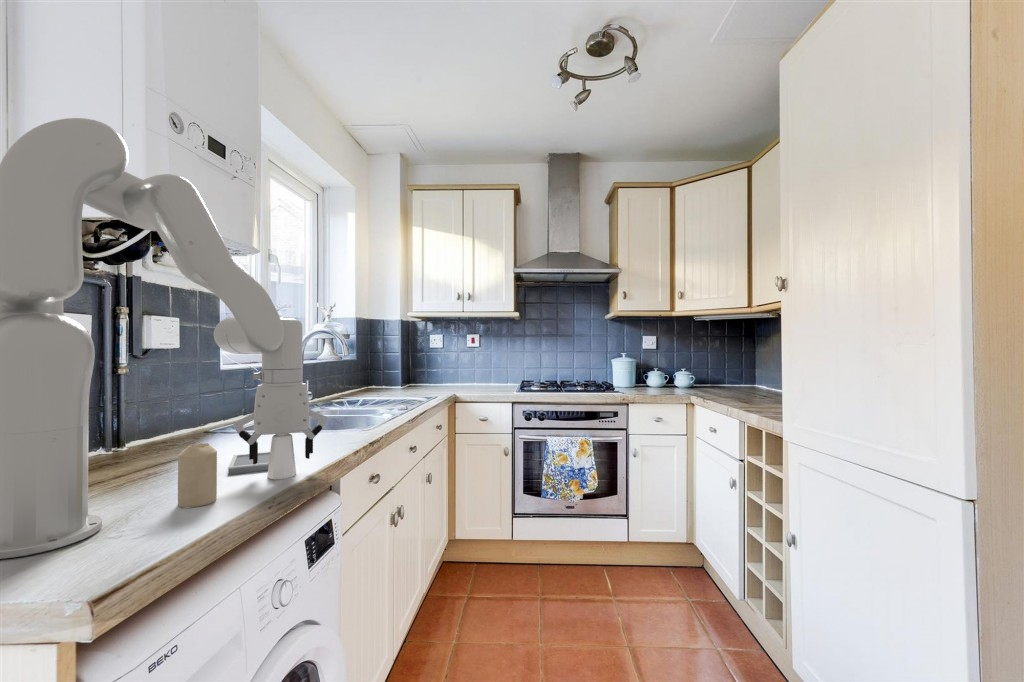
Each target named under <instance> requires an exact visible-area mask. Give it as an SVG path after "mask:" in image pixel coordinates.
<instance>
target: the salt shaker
mask: <svg viewBox="0 0 1024 682" xmlns="http://www.w3.org/2000/svg"><path fill="white" fill-rule="evenodd" d="M269 452H270V458H269V467H268V470H267V475H266V477H267V479H270V480H273V481H274V480H286V479H290V478H294V476H295V475H296V474H297V469H296V460H295V450H294V441H293V434H292V433H284V434H273V436H272V438H271V442H270V449H269Z"/></svg>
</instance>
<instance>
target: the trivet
mask: <svg viewBox="0 0 1024 682" xmlns="http://www.w3.org/2000/svg"><path fill="white" fill-rule="evenodd" d="M269 458H270V451H264V452H263V451H262V452H261V451H260V452H258V462H257V463H256V464H253V459H251V460H249V453H243V454H241V453H240V454H234V455H233V456H232V457H231V460H230V463H229V465H228V467H227V468H228V469H227V474H228V475H229V476H230V475H238V474H239V475H240V474H247V473H255V472H256V473H257V472H265V471H267V472H268V467H269Z"/></svg>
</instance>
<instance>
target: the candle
mask: <svg viewBox="0 0 1024 682" xmlns="http://www.w3.org/2000/svg"><path fill="white" fill-rule="evenodd" d="M217 462H218V451H217V449H216V448H214V447H213V446H212V445H210V443H208V442H207V443H206V442H205V443H198V444H189V445H188V446H187V447H186V448H184V449H183V450H182V451H181V452H179V454H178V456H177V506H178V507H179V508H182V507H190V509H191V507H192V508H197V507H203V506H206V505H210V504H212V503H215V502H216V500H217V496H218V495H217V494H218V489H217V485H218V484H217V483H218V480H217V478H218V477H217V476H218V474H217V473H218V463H217Z"/></svg>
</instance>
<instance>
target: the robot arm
mask: <svg viewBox="0 0 1024 682" xmlns="http://www.w3.org/2000/svg"><path fill="white" fill-rule="evenodd" d="M129 156H130V155H129V150H128V146H127V143H126V142H125V140H124V138H123V137H122V135H120V133H119V132H117V130H115V129H114V128H112V127H111V126H109V125H108V124H106V123H104V122H101V121H98V120H95V119H90V118H83V117H82V118H81V117H70V118H69V117H68V118H61V119H55V120H53V121H48V122H45V123H42V124H39V125H37V126H35V127H33V128H32V129H30V130H28V131H27V132H25V133H24V134H23V135H21V136H20V137H19V138H18V139H17V140H16V141H15V142H14V143H13V144H12V145H11V146H10V147H9V149H8V150H7V151H6V153H5V154H4V156H3V157H2V160H1V162H0V560H2V559H11V558H12V559H13V558H18V557H26V556H31V555H35V554H40V553H44V552H47V551H48V552H49V551H53V550H55V549H59V548H63V547H65V546H69V545H71V544H72V545H73V544H75V543H76V542H80V541H82V540H85V539H87V538H89V537H90V536H92V535H95V534H96V533H98V531H100V530H101V528H102V527H103V519H102V518H101V516H98V515H95V514H89V433H90V431H89V429H90V428H89V427H90V426H89V424H90V423H89V417H90V415H89V412H90V411H89V410H90V409H89V408H90V407H89V405H90V404H89V403H90V390H91V383H92V376H93V371H94V365H95V356H96V355H95V354H96V352H95V351H96V350H95V349H96V348H95V346H94V345H95V344H94V341H93V339H92V336H91V335H90V333H89V331H88V330H87V329H86V328H85V327H84V326H83V325H81V323H79V322H78V321H76V320H75V319H71V318H70V317H68V316H65V315H64V300H67V299H69V298H71V297H72V296H74V295H75V294H76V293H78V291H79V290H81V287H82V285H83V282H84V280H85V279H84V278H85V276H84V274H85V273H84V259H83V258H84V257H83V236H82V235H83V233H82V230H83V229H82V224H83V223H82V222H83V221H82V220H83V218H82V217H83V209H84V205H85V206H88V207H90V208H92V209H94V210H97V211H99V212H101V213H103V214H106V215H108V216H109V217H113V218H115V219H116V220H119V221H122V222H123V223H125V224H126V223H127V224H129V225H131V226H134V227H137V228H139V229H142V230H146V231H151V232H157V234H158V236H159V238H161V240H162V242H163V244H164V246H165V247H166V249H167V251H168V252H169V254H170V256H171V258H172V260H173V262H174V263H175V265H176V267H177V268H178V270H179V272H180V273H181V274H182V275H183V276H184V277H185V278H187V279H188V280H189V281H192V282H193V283H195V284H197V285H199V286H201V287H202V288H205V289H206V290H208V291H210V292H211V293H212V294H214V295H215V296H216V297H217V298H219V300H221V301H222V302H223V303H224V305H225V306H226V307H227V308H228V309H229V311H230V312H231V314H232V315H233V316H227V317H226V318H224V319H222V320H220V322H218V324H216V325H215V328H214V330H213V339H214V342H215V344H216V345H217V346H218V347H219V348H220V349H222V350H223V351H225V352H228V353H231V354H236V355H237V354H238V355H252V354H253V355H261V370H260V371H258V372H253V380H258V381H261V384H258V385H257V386H256V391H255V396H254V397H255V398H254V408H253V412H252V413H251V414H248V415H246V416H244V417H242V418H241V419H239V420H236V421H235V422H233V425H232V426H233V428H234V430H235V432H237V434H238V436H239V437H240V438H241V439H242V440H243V441H244V442H246V443H247V444H248V446H249V448H248V450H249V452H248V454H249V460H251V459H253V464H256V463H257V462H258V453H259V442H258V439H259V438H260V437H261V436H267V435H268V436H269V435H270V436H271V435H275V434H284V433H289V434H292V433H293V434H296V433H303V434H304V435H305V436H306V438H304V441H305V442H304V443H305V444H304V445H305V446H304V448H305V449H304V453H305V454H304V456H305V459H307V460H309V459H310V455H311V454H313V453H314V439H315V438H316V436H318V434H319V433H320V432H322V430H323V428H324V426H325V424H326V422H327V420H328V417H327V416H326V415H324V414H322V413H320V412H317V411H314V410H311V409H310V401H309V392H308V388H307V387H308V385H307V383H304V382H303V323H302V322H301V320H299V319H297V318H291V317H290V318H288V317H287V318H286V317H285V318H284V317H280V314H279V313H278V310H277V308H276V306H275V304H274V303H273V301H272V299H271V297H270V295H269V294H268V292H267V291H266V290H265V288H264V287H263V285H262V284H261V283H260V282H259V281H258V280H257V279H255V278H254V276H253V275H251V273H250V272H248V270H246V269H245V267H243V265H242V264H240V263H239V262H238V261H236V259H235V258H234V256H233V255H232V253H231V252H230V249H228V246H227V244H226V242H225V241H224V238H223V236H222V235H221V233H220V231H219V229H218V227H217V225H216V223H215V222H214V220H213V217H212V215H211V213H210V212H209V210H208V208H207V206H206V205H205V204H206V203H205V202H204V200H203V198H202V197H201V195H200V193H199V191H198V190H197V188H196V187H195V186H194V185H193V183H192V182H191V181H189V180H188V179H186V178H185V177H183V176H180V175H177V174H171V173H168V174H167V173H165V174H164V173H163V174H156V175H153V176H149V177H147V178H144V179H142V178H140V177H139V176H138V177H137V176H135V175H133V174H131V173H129V172H127V171H126V170H127V168H128V165H129V158H130V157H129ZM310 418H313V419H316V420H317V421H318V422H317V424H316V425H315V426H314V427H313V428H312V429H311V428H310ZM252 421H253V433H249V432H248V431H247V430H246V429H245V428H244V426H245V425H247V424H248V423H251V422H252Z"/></svg>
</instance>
